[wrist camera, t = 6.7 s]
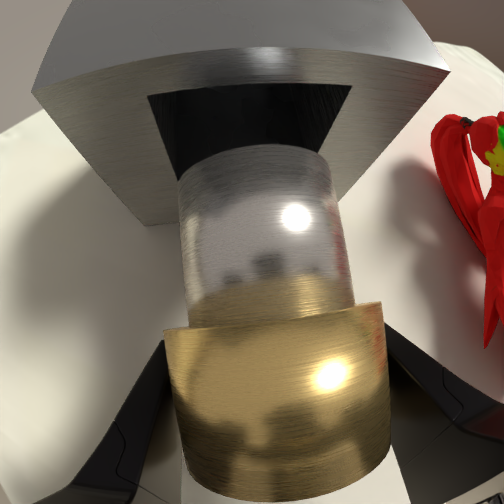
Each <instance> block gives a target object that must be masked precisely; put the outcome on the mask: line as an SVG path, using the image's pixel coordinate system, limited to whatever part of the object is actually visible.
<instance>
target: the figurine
mask: <svg viewBox="0 0 504 504" xmlns="http://www.w3.org/2000/svg"><path fill="white" fill-rule="evenodd" d="M468 133H469V135H470V141H471V148H472V151H473V152H474V153H475V154H476V155H477V156H478V158H479V159H480V160H481V161H482V162H483V164H485V165H487V166H489V167H490V168H491V180H492V183H491V188H490V190H489V193H488V195H487V197H486V199H485V200H484V197H483V194H482V191H481V188H480V183H479V179H478V175H477V171H476V168H475V164H474V160H473V157H472V153H471V149H470V144H469V140H468V136H467V134H468ZM431 149H432V153H433V157H434V162H435V166H436V171H437V175H438V177H439V179H440V181H441V184H442V186H443V188H444V190H445V193H446V195H447V197H448V200H449V202H450V203H451V205H452V207H453V209H454V211H455V213H456V214H457V216H458V217H459V219H460V220H461V222H462V223H463V225H464V226H465V228H466V230H467V231H468V233H469V234H470V236H471V237H472V239H473V240H474V242H475V244H476V245H477V247H478V248H479V250H480V251H481V252H482V254H483V255H484V256H485V257H486V258H487V272H486V286H485V297H484V334H483V336H484V349H485V348H486V347H487V346H488V343H489V341H490V339H491V337H492V335H493V333H494V330H495V328H496V325H497V323H498V320H499V317H500V318H501V321H502V323H503V326H504V112H502V111H500V112H499V113H498V115H497V117H495V116H487V117H482V118H480V119H478V120H477V121H475V122H474V121H471V120H470V119H468V118H467V117H460V116H458V115H455V114H449V115H446V116H444V117H443V118H442V119H441V120H440V121H439V122H438V123H437V124H436V125H435V127H434V129H433V130H432V132H431Z"/></svg>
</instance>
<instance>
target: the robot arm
mask: <svg viewBox="0 0 504 504" xmlns="http://www.w3.org/2000/svg"><path fill="white" fill-rule="evenodd" d="M384 328H385V337H386V347H387V358H388V371H389V387H390V409H391V445H392V447H393V450H394V453H395V456H396V459H397V462H398V465H399V468H400V471H401V474H402V477H403V480H404V483H405V486H406V489H407V492H408V496H409V499H410V502H411V504H444V503H446V504H504V404H503V403H500V402H497V401H496V400H494V399H492V398H490V397H489V396H487V395H485V394H484V393H482V392H481V391H479V390H477V389H476V388H474V387H472V386H471V385H469V384H468V383H466V382H465V381H463V380H462V379H460V378H459V377H457V376H456V375H455V374H453V373H452V372H450V371H449V370H448V369H446V368H445V367H442V365H441V364H440V363H438V362H437V361H436V360H434V359H433V358H432V357H430V356H429V355H428V354H426V353H425V352H424V351H422V350H421V349H420V348H418V347H417V346H416V345H414V344H413V343H412V342H410V341H409V340H408V339H406V338H405V337H404V336H402V335H401V334H400V333H398V332H397V331H396V330H394V329H393V328H391V327H390V326H389V325H387V324H386V323H385V322H384ZM114 420H115V421H113V422H112V424H111V426H110V427H109V429H108V431H107V432H106V434H105V436H104V437H103V439H102V441H101V442H100V444H99V445H98V446H97V448H96V449H95V451H94V452H93V453H92V455H91V456H90V458H89V459H88V460H87V462H86V463H85V464H84V466H83V467H82V468H81V470H80V471H79V472H78V474H77V475H76V476H75V478H74V479H73V480H72V481H71V482H70V483H69V484H68V485H67V486H66V487H64V488H63V489H62V490H60V491H58V492H56V493H54V494H52V495H50V496H48V497H46V498H44V499H42V500H39V501H37V502H35V503H33V504H181V456H182V442H181V438H180V433H179V428H178V423H177V417H176V412H175V407H174V401H173V395H172V389H171V383H170V377H169V370H168V363H167V356H166V349H165V341H164V339H163V340H161V342H160V343H159V345H158V346H157V348H156V350H155V351H154V353H153V355H152V356H151V358H150V360H149V361H148V363H147V365H146V366H145V368H144V370H143V371H142V373H141V375H140V376H139V378H138V380H137V381H136V383H135V385H134V386H133V388H132V390H131V391H130V393H129V395H128V397H127V398H126V400H125V402H124V403H123V405H122V407H121V409H120V410H119V412H118V414H117V415H116V417H115V419H114Z"/></svg>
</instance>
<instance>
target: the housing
mask: <svg viewBox="0 0 504 504" xmlns="http://www.w3.org/2000/svg"><path fill="white" fill-rule="evenodd" d="M450 72H451V71H450V69H449V67H448V66H447V64H446V62H445V61H444V59H443V57H442V56H441V54H440V53H439V51H438V50H437V48H436V46H435V45H434V43H433V42H432V40H431V39H430V38H429V36H428V35H427V33H426V32H425V30H424V29H423V28H422V26H421V25H420V23H419V22H418V21H417V19H416V18H415V17H414V16H413V14H412V13H411V12H410V10H409V9H408V8H407V6H406V5H405V4H404V3H403V2H402V0H72V2H71V4H70V6H69V7H68V9H67V11H66V13H65V15H64V17H63V19H62V21H61V23H60V24H59V27H58V29H57V30H56V32H55V35H54V37H53V39H52V41H51V43H50V45H49V47H48V50H47V52H46V54H45V57H44V59H43V61H42V64H41V66H40V69H39V71H38V74H37V77H36V79H35V82H34V85H33V88H32V90H31V93H32V94H33V95H34V97H35V98H36V99H37V100H38V102H39V103H40V104H41V105H42V107H43V108H44V109H45V111H46V112H47V113H48V115H49V116H50V117H51V118H52V120H53V121H54V122H55V123H56V125H57V126H58V127H59V128H60V129H61V131H62V132H63V133H64V134H65V136H66V137H67V138H68V139H69V140H70V142H71V143H72V144H73V145H74V146H75V148H76V149H77V150H78V151H79V152H80V154H81V155H82V156H83V157H84V158H85V160H86V161H87V162H88V163H89V164H90V165H91V167H92V168H93V169H94V170H95V171H96V172H97V174H98V175H99V176H100V177H101V178H102V179H103V180H104V182H105V183H106V184H107V185H108V186H109V187H110V188H111V189H112V191H113V192H114V193H115V194H116V195H117V196H118V197H119V198H120V200H121V201H122V202H123V203H124V204H125V205H126V206H127V207H128V208H129V209H130V211H131V212H132V213H133V214H134V215H135V216H136V217H137V218H138V219H139V220H140V221H141V223H142V224H143V225H144V226H150V225H158V224H166V223H174V222H180V220H179V203H178V182H179V180H180V178H181V177H182V175H183V174H184V173H185V172H186V171H187V170H188V169H189V168H190V167H192V166H193V165H195V164H196V163H198V162H200V161H201V160H203V159H205V158H208V157H210V156H212V155H215V154H218V153H221V152H224V151H227V150H231V149H235V148H240V147H246V146H253V145H266V144H278V145H290V146H297V147H301V148H305V149H308V150H311V151H313V152H315V153H317V154H319V155H321V156H322V157H323V158H324V159H325V160H326V161H327V162H328V165H329V167H330V171H331V176H332V180H333V184H334V189H335V193H336V198H337V203H338V202H339V200H340V199H341V198H342V197H343V196H344V195H345V194H346V193H347V192H348V190H349V189H350V188H351V187H352V186H353V185H354V184H355V183H356V182H357V180H358V179H359V178H360V177H361V176H362V175H363V174H364V173H365V171H366V170H367V169H368V168H369V167H370V166H371V165H372V163H373V162H374V161H375V160H376V159H377V158H378V157H379V156H380V154H381V153H382V152H383V151H384V150H385V149H386V148H387V146H388V145H389V144H390V143H391V142H392V141H393V139H394V138H395V137H396V136H397V135H398V134H399V133H400V131H401V130H402V129H403V128H404V127H405V126H406V124H407V123H408V122H409V121H410V120H411V119H412V117H413V116H414V115H415V114H416V113H417V112H418V110H419V109H420V108H421V107H422V106H423V104H424V103H425V102H426V101H427V100H428V98H429V97H430V96H431V95H432V94H433V93H434V91H435V90H436V89H437V88H438V87H439V85H440V84H441V83H442V82H443V80H444V79H445V78H446V77H447V76H448V74H449V73H450Z"/></svg>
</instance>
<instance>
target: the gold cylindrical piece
mask: <svg viewBox="0 0 504 504" xmlns="http://www.w3.org/2000/svg"><path fill="white" fill-rule="evenodd" d="M178 203H179V220H180V235H181V249H182V261H183V272H184V283H185V293H186V303H187V312H188V321H189V327H181V328H173V329H167V330H163V333H164V341H165V349H166V356H167V363H168V370H169V377H170V383H171V389H172V395H173V401H174V407H175V412H176V417H177V423H178V428H179V433H180V438H181V442H182V447H183V452H184V456H185V461H186V465H187V469H188V471H189V473H190V475H191V476H192V477H193V478H194V480H195V481H197V482H198V483H199V484H201V485H202V486H203V487H205V488H207V489H209V490H211V491H213V492H215V493H218V494H221V495H223V496H226V497H230V498H235V499H239V500H245V501H253V502H288V501H297V500H303V499H309V498H313V497H317V496H321V495H324V494H328V493H331V492H334V491H336V490H339V489H341V488H344V487H346V486H348V485H350V484H352V483H354V482H356V481H358V480H360V479H361V478H363V477H364V476H366V475H367V474H369V473H370V472H371V471H372V470H374V469H375V468H376V467H377V466H378V465H379V464H380V463H381V462H382V461H383V459H384V458H385V457H386V455H387V453H388V451H389V449H390V445H391V409H390V387H389V371H388V358H387V347H386V337H385V328H384V319H383V311H382V304H381V301H379V302H369V303H362V304H355V299H354V292H353V285H352V278H351V272H350V266H349V260H348V254H347V249H346V243H345V238H344V232H343V227H342V222H341V217H340V212H339V207H338V203H337V198H336V193H335V189H334V184H333V180H332V176H331V171H330V167H329V165H328V162H327V161H326V160H325V159H324V158H323V157H322V156H321V155H319V154H317V153H315V152H313V151H311V150H308V149H305V148H301V147H297V146H290V145H278V144H266V145H253V146H246V147H240V148H235V149H231V150H227V151H224V152H221V153H218V154H215V155H212V156H210V157H208V158H205V159H203V160H201V161H200V162H198V163H196V164H195V165H193V166H192V167H190V168H189V169H188V170H187V171H186V172H185V173H184V174H183V175H182V177H181V178H180V180H179V182H178Z"/></svg>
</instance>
